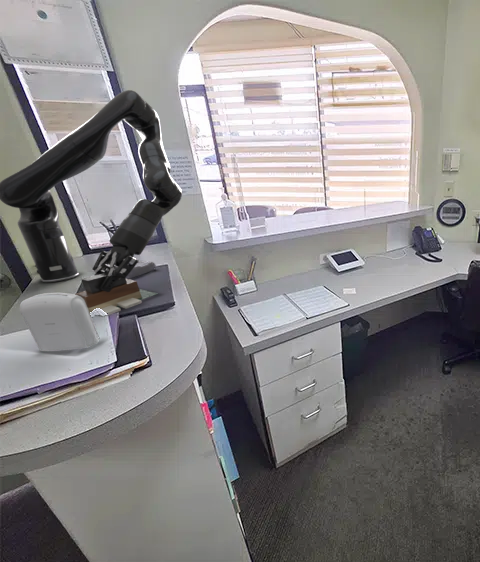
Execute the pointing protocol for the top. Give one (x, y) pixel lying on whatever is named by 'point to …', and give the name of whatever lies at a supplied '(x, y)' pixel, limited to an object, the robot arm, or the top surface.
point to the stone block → (141, 269)
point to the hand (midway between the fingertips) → (98, 288)
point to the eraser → (102, 298)
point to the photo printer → (59, 321)
